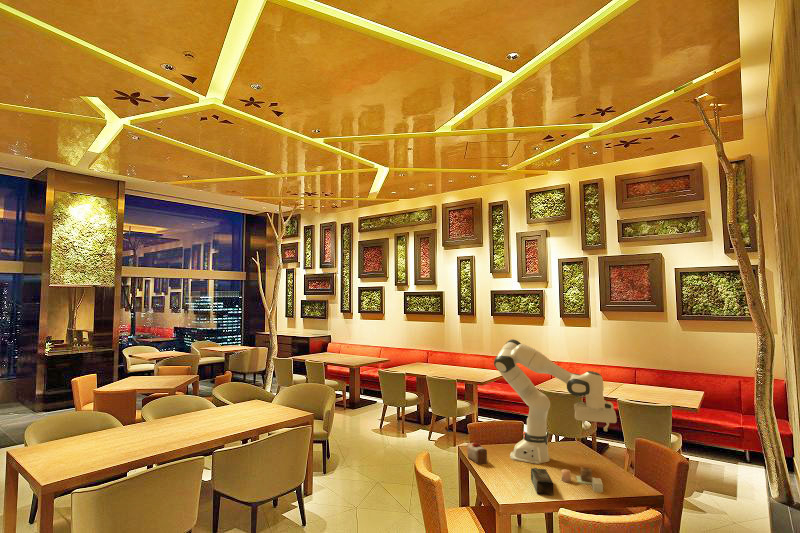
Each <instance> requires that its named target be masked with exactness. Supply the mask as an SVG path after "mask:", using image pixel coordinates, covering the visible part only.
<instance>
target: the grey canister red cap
mask: <svg viewBox="0 0 800 533" xmlns="http://www.w3.org/2000/svg"><path fill="white" fill-rule="evenodd" d="M466 448H467V449H466V453H467V458H468V459H469V460H471V461H473V462H474V463H476V464H477V465H487V463H488V450H487V449H486V448H484V447H482V445H481V443H479V442H470V443H467V445H466Z"/></svg>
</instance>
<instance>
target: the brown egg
mask: <svg viewBox="0 0 800 533" xmlns="http://www.w3.org/2000/svg"><path fill="white" fill-rule="evenodd" d="M571 474H572V472H571V470H570V469H566V468H563V469H561V481H562V482H564V483H565V484H566V483H569V484H570V483H571V481H572V478H571V476H572V475H571Z"/></svg>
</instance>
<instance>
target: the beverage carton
mask: <svg viewBox="0 0 800 533" xmlns="http://www.w3.org/2000/svg"><path fill="white" fill-rule="evenodd" d="M530 469H531V470H530V480H531V482H532V486H533V488H534V490H535V493H536V494H537V495H543V496H552V495H553V496H554V490H555V488H554V482H553V480H552V478H551V476H550V474H549V473H548V471H547V469H545V468H537V467H533V468H530Z"/></svg>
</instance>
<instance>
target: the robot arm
mask: <svg viewBox="0 0 800 533" xmlns="http://www.w3.org/2000/svg"><path fill="white" fill-rule="evenodd" d="M517 364H521V365H522V366H524V367H525V368H527V369H528V370H530V371H532V372H534V373H537V374H545V375H546V374H547V375H551V376H553V377H554V378H556V379H558V380H560V381H562V382H563V383H565V385H566V390H567V392H568V393H569V394H570V395H572V396H574V397H581V396H585V402H581V401H576V402H574V404H573V410H574V419H575V420H576V421H580V422H581V423H582V425H583V427H584V430H588V429H589V428H588V425H586V422H594V423H595V422H597V423H605V424H606V425H605V426H603V431H604V432H608V428H609V426H610V424H616V423H617V421H618V419H617V418H618V417H617V414H616V410H615V409H614V403H612V402H611V401H607V400H605V397H604V379H603V376H602V374H600V373H599V372H596V371H593V370H592V371H591V370H588V371H586V372H584V373H583V374H578V373H572V372H570V371H568V370H567V369H564V368H563V367H561V366H559V365H557V364H556V363H555V362H553V361H552V360H550V359H549V358H548V357H547V356H546V355H545V354H543V353H542V352H540V351H539V350H537V349H535V348H533V347H531V346H530V345H526V344H523V343H521V342H520V341H518V340H517V339H514V338H513V339H509V340H508V341H506V343H505V344H504V345H503V346H502V348H500V350H499V352H498V354H497V356H495V358H494V361H493V366H494V367H495V368H496V369H497V371H498V372H499V374H500V375H501V376H502V378H503V379H504V380H505V382H507V384H509V386H510V387H511V388H512V390H514V392H515V393H516V394H517V395H518V397H520V399H521V400H522V401H523V402H524V403H525V404H526V406H528V409H529V410H528V416H527V418H526V431H523V432H522V435H523V436H522V437H523V438H522V440H519V441H518V442H517V443H516V444H515V445H514V448H513V450H512V451H511V452H510V454H509V458H510V460H513V461H518V462H525V463H529V464H535V465H540V464H542V463H543V464H544V463H549V462H550V460H551V458H550V456H549V455H550V454H549V449H548V443H549V442H548V441H549V438H548V434H547V433H548V432H547V418H548V414H549V410H550V408H551V401H550V399H549V397H548V396H547V395H546V394H544V392H542V391H540V390H539V389H538V388H537V387H536V385H535V384H534V383H533V382H532V380H531V378H529V377H528V376H527V375H526V373H525V372H524V371H523V369H521V368H520V367H519V366H518V365H517Z"/></svg>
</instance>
